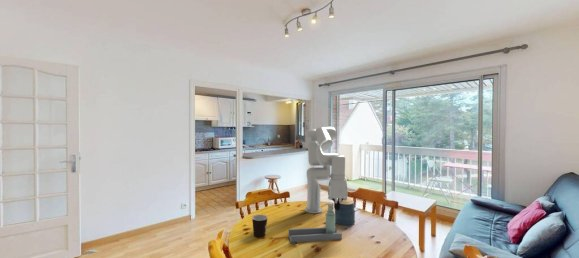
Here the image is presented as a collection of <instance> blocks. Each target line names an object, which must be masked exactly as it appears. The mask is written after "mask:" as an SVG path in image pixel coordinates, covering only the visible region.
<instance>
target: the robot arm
mask: <svg viewBox="0 0 579 258" xmlns="http://www.w3.org/2000/svg"><path fill="white" fill-rule="evenodd" d="M337 135H338V134H337V130H336V129H335V127H333V126H319V127H317V128H310V129H308V130H306V132H305V139H306V143H307V148H308V150H307V151H308V153H307V154H308V155H307V156H308V158H307V159H308V164H309V165H310V166H313V167H309V168H308V169H306V178H307V179H306V180H307V182H306V183H307V194H306V195H307V196H306V197H307V198H306V199H307V200H306V201H307V202H306V207H304V211H305V212H306V213H309V214H320V213H323V208H322V207H321V189H322V188H321V185H320V184H319V182H320V181H329V182H328V188H327V199H328V201H333V209H334V210H335V209H336V210H337V211H338V210H340V203H341V202H342V201H343V200H344V199H347V198H348V193H349V191H348V183H347V179H346V157H345V155H342V154H341V153H338V152H325V151H327V150H329V149H330V148H331V147H332V146H333V141H334V140H335V139H336V138H337ZM314 166H315V167H314ZM317 166H318V167H317ZM320 166H322V167H320ZM318 181H319V182H318ZM337 199H338V200H337Z"/></svg>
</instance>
